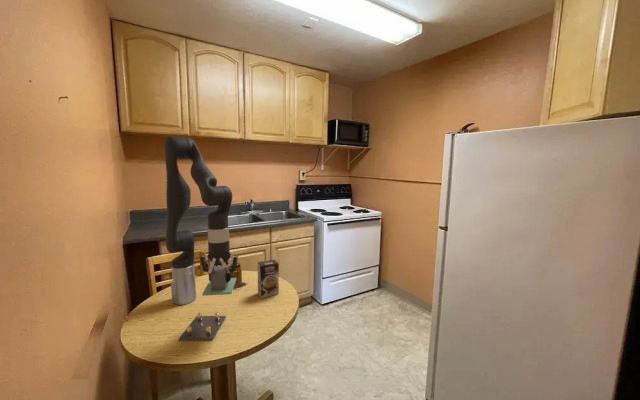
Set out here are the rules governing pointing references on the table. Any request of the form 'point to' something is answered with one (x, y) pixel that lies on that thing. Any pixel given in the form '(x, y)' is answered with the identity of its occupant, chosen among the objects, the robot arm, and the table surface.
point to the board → (220, 292)
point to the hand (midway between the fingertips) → (220, 281)
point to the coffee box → (268, 278)
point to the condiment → (237, 277)
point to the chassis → (203, 327)
